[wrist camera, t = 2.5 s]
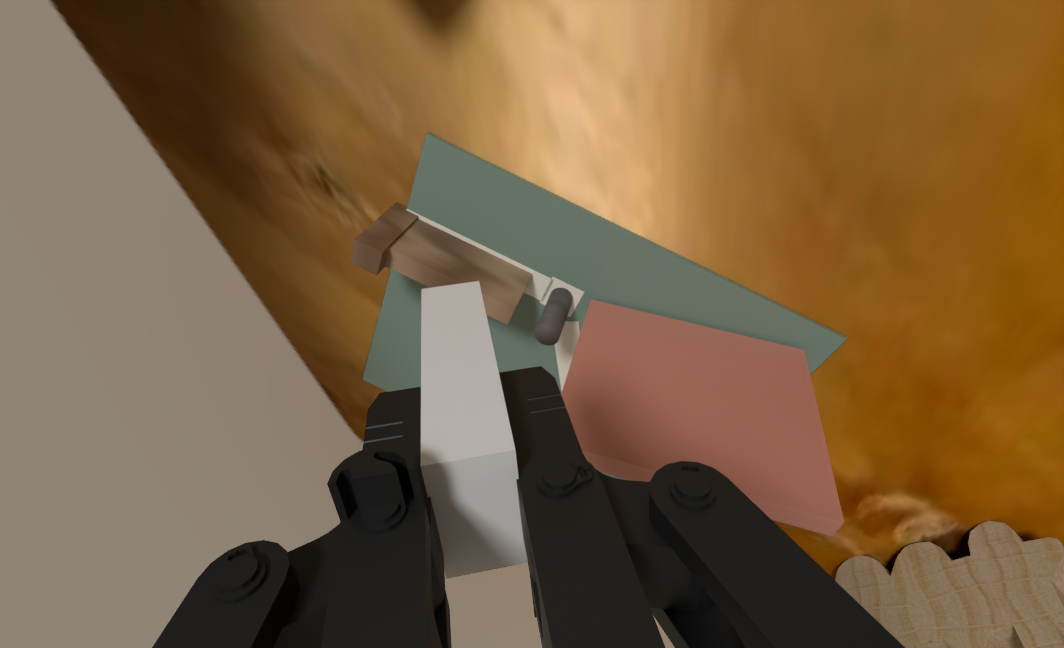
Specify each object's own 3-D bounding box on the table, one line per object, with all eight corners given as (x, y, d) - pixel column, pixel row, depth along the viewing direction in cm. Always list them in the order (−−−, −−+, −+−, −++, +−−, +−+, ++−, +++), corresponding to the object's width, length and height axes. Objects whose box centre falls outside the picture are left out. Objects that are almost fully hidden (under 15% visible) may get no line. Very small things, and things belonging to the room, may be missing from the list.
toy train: (1078, 550, 40) (1169, 703, 32) (848, 601, 50) (874, 729, 42) (1040, 506, 38) (1125, 654, 31) (811, 567, 48) (831, 692, 40)
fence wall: (391, 223, 39) (350, 262, 34) (396, 202, 37) (354, 239, 33) (567, 309, 39) (550, 358, 34) (578, 290, 38) (561, 338, 33)
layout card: (364, 377, 48) (362, 379, 48) (428, 132, 34) (426, 134, 34) (659, 517, 49) (659, 520, 49) (845, 336, 35) (846, 339, 34)
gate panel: (587, 313, 38) (543, 456, 28) (590, 299, 37) (546, 440, 27) (796, 363, 36) (832, 536, 26) (804, 349, 35) (844, 522, 25)
